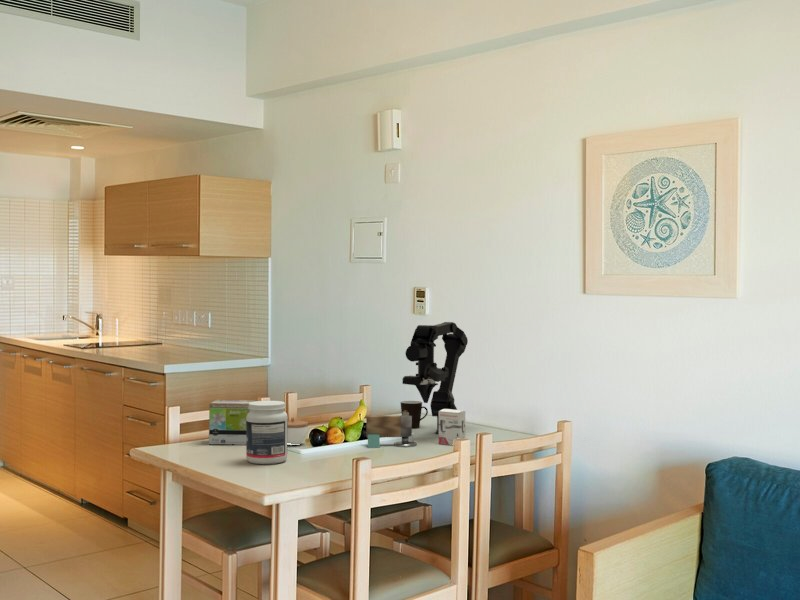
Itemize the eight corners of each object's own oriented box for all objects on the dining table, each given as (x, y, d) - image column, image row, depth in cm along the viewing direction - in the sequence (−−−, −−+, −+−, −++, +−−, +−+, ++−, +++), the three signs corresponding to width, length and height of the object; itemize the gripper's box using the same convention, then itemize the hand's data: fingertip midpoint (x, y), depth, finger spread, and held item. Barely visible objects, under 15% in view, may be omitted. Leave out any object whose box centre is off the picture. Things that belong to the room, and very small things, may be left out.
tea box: (208, 445, 299) (208, 402, 299) (213, 440, 309) (213, 399, 309) (252, 445, 300) (252, 402, 300) (256, 440, 310) (256, 399, 310)
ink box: (437, 444, 302) (437, 410, 302) (443, 442, 307) (443, 408, 307) (460, 446, 298) (460, 411, 298) (466, 444, 303) (466, 410, 303)
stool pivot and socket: (371, 442, 306) (371, 429, 306) (417, 443, 304) (417, 430, 304) (366, 447, 295) (366, 434, 295) (415, 448, 293) (415, 435, 293)
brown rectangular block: (411, 435, 303) (411, 415, 303) (412, 437, 298) (412, 417, 298) (366, 435, 302) (366, 415, 302) (366, 437, 298) (366, 417, 298)
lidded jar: (305, 441, 307) (305, 415, 307) (310, 446, 297) (310, 419, 297) (275, 442, 305) (275, 416, 304) (279, 448, 294) (279, 420, 294)
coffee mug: (396, 426, 342) (396, 401, 342) (416, 425, 345) (416, 400, 345) (409, 431, 331) (409, 404, 331) (429, 429, 335) (429, 403, 335)
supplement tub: (252, 457, 278) (252, 399, 278) (291, 457, 277) (291, 400, 277) (240, 464, 265) (240, 405, 265) (282, 465, 264) (282, 405, 264)
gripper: (423, 362, 301) (423, 407, 301) (459, 359, 314) (459, 402, 314) (401, 360, 309) (401, 404, 309) (437, 358, 322) (437, 399, 322)
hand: (425, 402), depth 314 cm, fingers closed
